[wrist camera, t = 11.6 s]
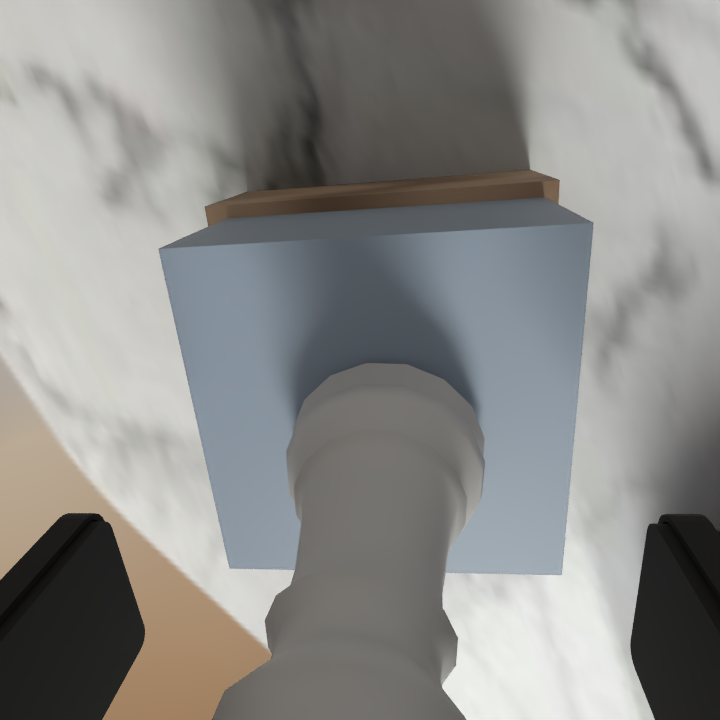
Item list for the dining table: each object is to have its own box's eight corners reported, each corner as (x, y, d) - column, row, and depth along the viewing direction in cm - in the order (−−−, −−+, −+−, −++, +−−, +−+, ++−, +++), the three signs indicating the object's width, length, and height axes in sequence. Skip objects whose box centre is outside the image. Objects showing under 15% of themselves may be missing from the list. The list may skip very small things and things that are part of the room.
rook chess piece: (364, 538, 14) (293, 979, 7) (259, 410, 13) (36, 780, 6) (518, 467, 13) (637, 933, 5) (416, 316, 11) (390, 651, 4)
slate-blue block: (544, 197, 15) (593, 222, 10) (529, 473, 18) (561, 574, 14) (227, 218, 16) (158, 248, 12) (270, 474, 19) (229, 568, 15)
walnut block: (528, 169, 18) (559, 179, 14) (519, 422, 22) (541, 488, 18) (249, 191, 20) (204, 206, 16) (286, 426, 24) (257, 489, 19)
